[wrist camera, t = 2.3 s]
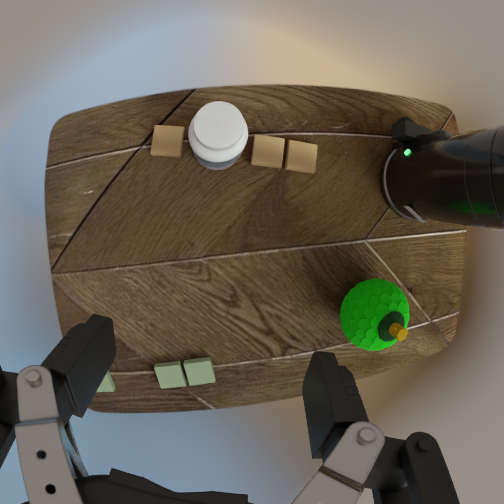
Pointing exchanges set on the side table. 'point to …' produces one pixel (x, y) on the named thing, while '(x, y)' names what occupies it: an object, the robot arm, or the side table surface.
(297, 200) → the side table surface
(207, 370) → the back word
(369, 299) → the ornament
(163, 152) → the set of tan tiles
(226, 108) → the pill bottle
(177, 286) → the side table surface
